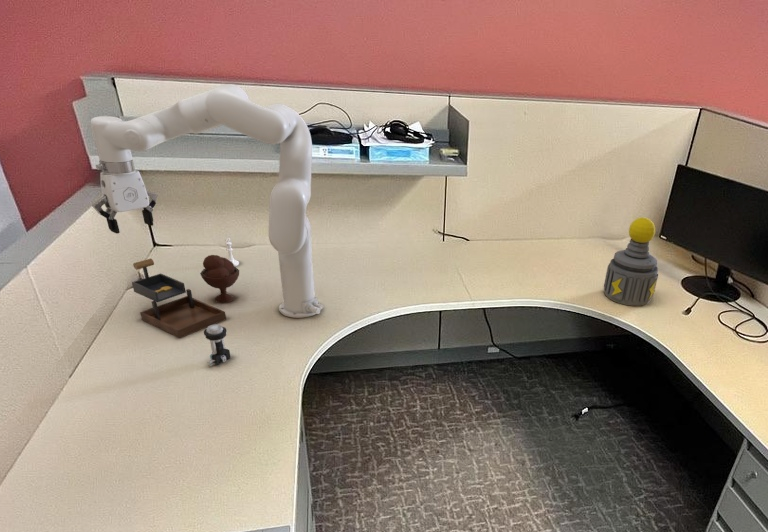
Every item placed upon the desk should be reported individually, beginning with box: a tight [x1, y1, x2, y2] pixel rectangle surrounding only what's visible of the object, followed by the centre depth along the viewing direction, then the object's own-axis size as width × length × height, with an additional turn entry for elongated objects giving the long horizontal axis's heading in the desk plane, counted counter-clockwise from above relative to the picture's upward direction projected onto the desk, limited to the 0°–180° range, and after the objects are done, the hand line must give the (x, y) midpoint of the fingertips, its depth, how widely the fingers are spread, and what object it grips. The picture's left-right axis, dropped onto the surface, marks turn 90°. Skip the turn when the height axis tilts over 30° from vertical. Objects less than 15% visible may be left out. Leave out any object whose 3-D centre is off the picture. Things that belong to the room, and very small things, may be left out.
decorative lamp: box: [603, 216, 659, 307], centre depth 204 cm, size 19×19×30 cm
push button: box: [203, 323, 231, 367], centre depth 147 cm, size 7×5×10 cm
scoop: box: [131, 258, 187, 303], centre depth 165 cm, size 12×9×8 cm
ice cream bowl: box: [199, 254, 240, 304], centre depth 176 cm, size 11×11×15 cm
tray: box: [139, 288, 227, 339], centre depth 165 cm, size 17×15×7 cm
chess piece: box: [224, 236, 240, 267], centre depth 202 cm, size 5×5×10 cm
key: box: [156, 286, 172, 293], centre depth 167 cm, size 6×2×1 cm, turn 150°
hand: (132, 228), depth 160 cm, fingers open, 9 cm apart
